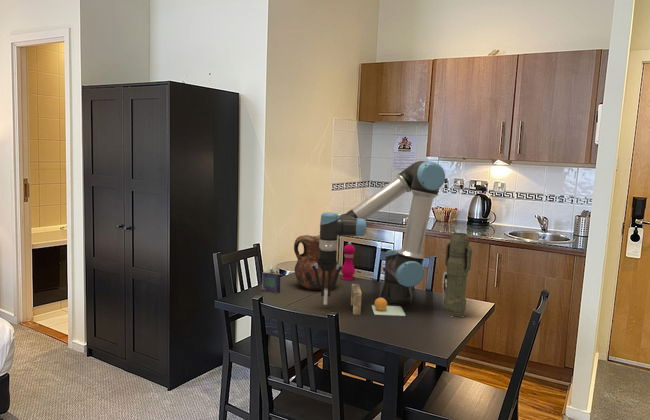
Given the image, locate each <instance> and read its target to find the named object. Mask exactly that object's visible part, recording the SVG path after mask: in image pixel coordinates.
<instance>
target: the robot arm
mask: <svg viewBox="0 0 650 420" xmlns="http://www.w3.org/2000/svg"><path fill="white" fill-rule="evenodd" d="M445 181H446V172H445V170H444V168H443V167H442V166H441V165H440V164H439V163H437V162H435V161H431V160H430V161H429V160H428V161H427V160H418V161H415V162H413V163H412V164H410V165H408V166H407V167H406V168H405V169H403V170H402V171H401V172H400V173H398V174H397V175H396V178H394V179H393V180H391V181H390V182H389V183H387V184H386V185H384V186H383V187H382V188H380V189H379V190H378V191H377V190H376V192H375V193H373V194H372V195H370V196H368V197H367V198H366V199H364V200H363V201H362V202H360V203H359V204H357V205H356V206H354V207H352V208H351V209H350V210H348V211H347V212H346V213H341V214H340V215H339V214H338V213H336V212H328V211H327V212H323V213H321V215H320V223H319V235H320V240H319V248H320V250H319V259H318V261H317V263H316V264H313V265H312V268H313V269H314V271H315V276H316V281H317V286H318V288H321V290H320V292H321V297H323V305H324V306H325V305H326V306H327V305H328V297H329V298H330V297H331V290H332V289H335V288H336V286H337V285H336V284H337V282H338V279H339V278H338V277H339V275H340V272H341V269H342V267H343V265H340V264H338V261H337V254H338V253H337V249H338V236H341V237H342V236H343V237H344V236H345V237H363V236H365V235H366V233H367V229H368V228H367V221H366V220H367V219H369V218H370V217H371V216H373V215H375V214H376V213H378V212H379V211H381V210H382V209H383V208H385V207H386V206H388V205H389V204H390V203H393V202H394V201H395V200H396V199H398V198H399V197H401V196H402V195H404V194H405V193H410V192H411V193H412V198H411V204H410V207H409V213H408V217H407V223H406V227H405V230H404V231H405V232H404V237H403V240H402V246H401V248H400V249H389V250H386V253H385V256H384V274H383V275H384V276H383V282H382V283H383V284H382V286H381V289H380V291H379V296H378V298H384V299H385V300H386V301H387V304H390V303H391V304H397V305H400V304H401V305H403V304H405V305H406V304H411V303H412V302H413V294H412V290H411V289H412V288H411V287H415V286H418V285H420V284H421V282H422V281H423V280H424V277H425V269H424V266H423V265H424V264H423V263H424V260H425V257H424V255H423V254H422V253H423V247H424V242H425V237H426V233H427V228H428V224H429V219H430V215H431V210H432V205H433V202H434V199H435V198H436V197H437V196H438V195H439V190H440V189H441V187H442V186H443V185H444V183H445ZM318 265H319V267H320V268H321V270H322V285H321V284H320V281H319V276H318V271H317V269H318ZM335 267H336V269H337V270H336V273H335V277H334V280H333V283H332V285H331V271H332V270H333V269H334V268H335ZM325 271H328V288H325Z"/></svg>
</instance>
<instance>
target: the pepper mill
mask: <svg viewBox="0 0 650 420" xmlns="http://www.w3.org/2000/svg"><path fill="white" fill-rule="evenodd" d="M343 252H344V262H343V265H342V269H341V271H340V272H341V274H342V275H341V279H342V280H343V281H347V280H348V281H349V282H350V281H353V280H354V275H355V273H356V270H355V266H354V262H353V258H354V255H355V254H354V253H355V252H356V247H355V246H354V245H353V244H352V242H351V241H348V243H347V244H346V245H345V246H344V247H343ZM348 281H347V282H348Z"/></svg>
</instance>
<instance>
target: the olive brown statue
mask: <svg viewBox="0 0 650 420" xmlns="http://www.w3.org/2000/svg"><path fill="white" fill-rule="evenodd" d="M449 240H450V242H447V244H446V246H445V247H446V248H445V249H446V250H445V267H446V271H445V272H446V273H447V287H446V296H445V298H444V306H443V314H444V313H445V314H446V315H449V316H453V317H462V316H464V317H465V314H466V313H465V311H466V305H467V300H466V290H467V279H468V276H469V271H470V270H471V268H472V267H471V266H472V256H473V249H472V247H471V246H470V245H469V244H470V240H469V235H468V234H467V233H463V232H455V233H452V235H451V237H450V239H449ZM446 315H445V316H446ZM462 318H463V317H462Z"/></svg>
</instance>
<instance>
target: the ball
mask: <svg viewBox="0 0 650 420" xmlns="http://www.w3.org/2000/svg"><path fill="white" fill-rule="evenodd" d="M373 305H375V308H376V309H377V310H379V311H383V310H385V309H386V307H387V306H388V302H387V301H386V300H385V299H384V298H379V297H378V298H376V299H375V300H374V304H373Z"/></svg>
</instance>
